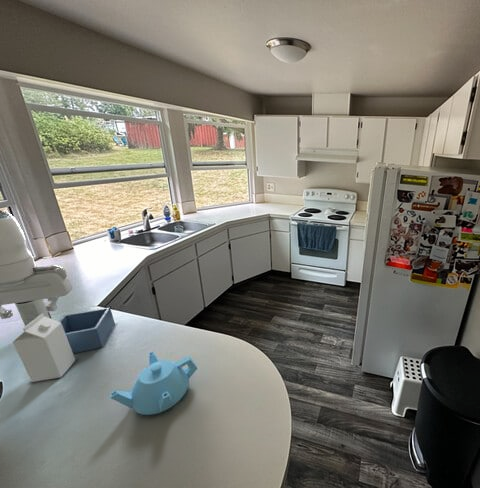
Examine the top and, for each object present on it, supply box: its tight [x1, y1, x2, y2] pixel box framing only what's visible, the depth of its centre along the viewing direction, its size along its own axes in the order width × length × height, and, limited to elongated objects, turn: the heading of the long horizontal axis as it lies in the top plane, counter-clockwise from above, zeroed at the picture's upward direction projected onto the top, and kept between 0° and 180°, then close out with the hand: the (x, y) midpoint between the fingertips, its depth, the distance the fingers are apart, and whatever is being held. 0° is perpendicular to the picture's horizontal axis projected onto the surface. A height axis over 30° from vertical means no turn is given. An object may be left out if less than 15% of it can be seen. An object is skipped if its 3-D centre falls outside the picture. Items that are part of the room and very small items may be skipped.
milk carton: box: [12, 313, 76, 383], centre depth 75 cm, size 7×7×19 cm
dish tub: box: [57, 307, 116, 354], centre depth 90 cm, size 14×14×8 cm
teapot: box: [109, 351, 198, 416], centre depth 70 cm, size 15×15×11 cm
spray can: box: [14, 299, 53, 327], centre depth 91 cm, size 7×7×20 cm
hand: (30, 313), depth 71 cm, fingers open, 8 cm apart
